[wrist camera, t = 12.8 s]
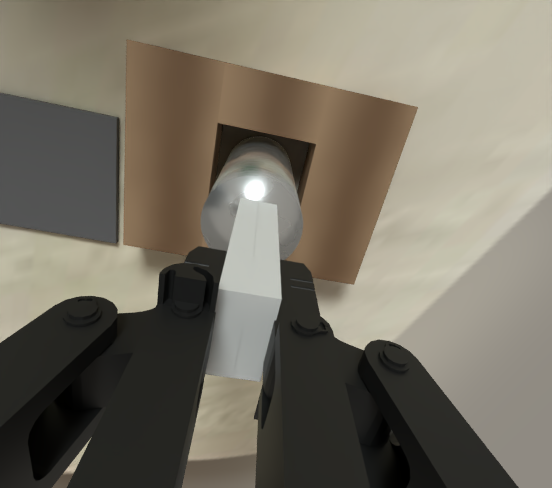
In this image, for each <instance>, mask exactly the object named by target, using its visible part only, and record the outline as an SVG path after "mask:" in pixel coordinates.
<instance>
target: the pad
mask: <svg viewBox="0 0 552 488" xmlns="http://www.w3.org/2000/svg"><path fill="white" fill-rule="evenodd" d="M118 191H119V117H114V116H109V115H104V114H100V113H95V112H90V111H85V110H80V109H76V108H71V107H66V106H61V105H57V104H52V103H47V102H42V101H38V100H33V99H28V98H23V97H18V96H14V95H9V94H4V93H0V223H1V224H6V225H12V226H18V227H24V228H30V229H35V230H41V231H47V232H53V233H58V234H64V235H70V236H76V237H82V238H87V239H93V240H99V241H105V242H110V243H117V242H118Z"/></svg>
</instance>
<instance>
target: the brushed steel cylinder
mask: <svg viewBox="0 0 552 488" xmlns="http://www.w3.org/2000/svg"><path fill="white" fill-rule="evenodd" d="M240 198H244V199H249V200H255V201H260V202H265V203H270V204H275V205H277V215H278V235H279V255H280V259H281V260H285V259H286V258H288V257H289V256H290V255H291V254H292V253H293V251H294V250H295V249H296V247H297V246H298V243H299V241H300V239H301V236H302V231H303V216H302V212H301V207H300V203H299V199H298V194H297V190H296V185H295V181H294V177H293V172H292V168H291V164H290V160H289V157H288V154H287V153H286V151H285V149H284V148H283V147H282V146H281V145H280V144H279V143H278V142H276V141H274V140H273V139H270V138H267V137H263V136H254V137H249V138H246V139H244V140H242V141H241V142H239V143H238V144H237V145H236V146H235V147H234V148H233V150H232V151H231V153H230V155H229V157H228V159H227V161H226V163H225V165H224V167H223V169H222V171H221V172H220V174H219V176H218V178H217V180H216V182H215V184H214V186H213V188H212V190H211V192H210V194H209V196H208V198H207V200H206V202H205V204H204V206H203V209H202V213H201V231H202V234H203V237H204V240H205V242H206V244H207V245H208V247H209V248H212V249H218V250H224V251H228V246H229V242H230V238H231V234H232V230H233V226H234V222H235V218H236V214H237V210H238V206H239V202H240Z"/></svg>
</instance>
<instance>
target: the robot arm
mask: <svg viewBox="0 0 552 488" xmlns="http://www.w3.org/2000/svg"><path fill="white" fill-rule="evenodd" d="M314 290H315V288H314V283H313V279H312V274H311V272H310V270H309V269H308V268H307V267H306V266H305V265H304V263H298V262H292V261H287V260H281V259H280V255H279V235H278V215H277V205H275V204H270V203H265V202H260V201H255V200H249V199H244V198H240V202H239V206H238V210H237V214H236V218H235V222H234V226H233V230H232V234H231V238H230V242H229V246H228V251H224V250H218V249H212V248H207V247H201V246H198V247H196V248H195V249H193V250H192V251H190V252H189V253H188V255H187V257H186V259H185V263H180V264H174V265H171V266H169V267H166V268H164V269H163V270H162V271H161V272H160V273H159V287H158V302H157V306H156V308H154V309H151V310H147V311H143V312H136V313H120V314H117V310H118V309H117V308H116V306H115V305H114V304H113V302H111V301H109V300H107V299H105V298H101V297H95V296H80V297H75V298H71V299H67V300H65V301H63V302H61V303H59V304H57V305H55V306H53V307H52V308H50V309H49V310H47V311H46V312H45V313H43V314H42V315H40V316H39V317H37V318H36V319H34V320H33V321H31V322H30V323H29V324H27V325H26V326H24V327H23V328H21V329H20V330H18V331H17V332H15V333H14V334H13V335H11V336H10V337H8V338H7V339H5V340H4V341H2V342H1V343H0V488H52V487H53V485H54V484H55V483H56V481H57V480H58V479H59V478H60V476H61V475H62V474H63V473H64V471H65V470H66V469H67V468H68V466H69V465H70V464H71V462H72V461H73V460H74V459H75V457H76V456H77V455H78V454H79V452H80V451H81V450H82V448H83V447H84V446H85V445H86V443H87V442H88V441H89V440H90V438H91V437H92V438H91V440H90V442H89V444H88V446H87V448H86V450H85V452H84V454H83V456H82V458H81V460H80V462H79V464H78V466H77V468H76V470H75V472H74V474H73V476H72V479H71V480H70V482H69V485H68V487H67V488H181V487H182V483H183V478H184V473H185V469H186V464H187V460H188V455H189V450H190V446H191V441H192V436H193V432H194V427H195V422H196V418H197V413H198V408H199V404H200V399H201V394H202V389H203V383H204V377H205V374H208V375H215V376H222V377H230V378H237V379H244V380H251V381H259V382H260V381H261V377H262V373H263V385H262V389H261V393H260V397H259V400H258V404H257V408H256V412H255V415H254V419H257V420H258V435H257V461H256V462H257V463H256V485H255V488H518V486H517V485H516V484H515V483H514V481H513V480H512V479H511V477H510V476H509V475H508V474H507V472H506V471H505V470H504V469H503V467H502V466H501V465H500V463H499V462H498V461H497V460H496V458H495V457H494V456H493V455H492V453H491V452H490V451H489V449H487V447H486V446H485V444H484V443H483V442H482V441H481V439H480V438H479V437H478V436H477V434H476V433H475V432H474V431H473V429H472V428H471V427H470V425H469V424H468V423H467V422H466V420H465V419H464V418H463V417H462V415H461V414H460V413H459V411H458V410H457V409H456V408H455V406H454V405H453V404H452V402H451V401H450V400H449V399H448V397H447V396H446V395H445V394H444V392H443V391H442V390H441V389H440V387H439V386H438V385H437V384H436V382H435V381H434V380H433V379H432V377H431V376H430V375H429V373H428V372H427V371H426V369H425V368H424V367H423V366H422V364H421V363H420V362H419V361H418V359H417V358H416V357H415V356H413V354H412V353H411V352H410V351H408V350H407V349H405V348H403V347H402V346H400V345H398V344H396V343H393V342H390V341H385V340H375V341H371V342H370V343H369V344H368V345H367V346H366V347H365V350H361V349H359V348H356V347H354V346H351V345H349V344H346V343H344V342H342V341H340V340H338V339H337V338H335V337H334V334H333V331H332V329H331V327H330V325H329V323H328V322H327V321H325V320H324V319H323V318H322V317H320V312H319V308H318V303H317V298H316V293H315V291H314Z"/></svg>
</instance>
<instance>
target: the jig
mask: <svg viewBox="0 0 552 488" xmlns="http://www.w3.org/2000/svg"><path fill="white" fill-rule="evenodd" d="M417 109H418V107H415V106H410V105H406V104H402V103H398V102H393V101H389V100H385V99H380V98H376V97H372V96H368V95H363V94H359V93H355V92H350V91H346V90H342V89H337V88H333V87H329V86H325V85H320V84H316V83H312V82H307V81H303V80H299V79H295V78H290V77H286V76H282V75H277V74H273V73H269V72H264V71H260V70H256V69H252V68H247V67H243V66H239V65H234V64H230V63H226V62H222V61H217V60H213V59H209V58H204V57H200V56H196V55H191V54H187V53H183V52H179V51H174V50H170V49H166V48H161V47H157V46H153V45H149V44H144V43H140V42H136V41H131V40H127V55H126V117H125V178H124V239H123V245H128V246H134V247H140V248H145V249H151V250H157V251H163V252H169V253H174V254H180V255H186V256H187V255H188V253H189V252H190V251H192V250H193V249H195V248H196V247H198V246H201V247H207V248H209V247H208V245H207V244H206V242H205V240H204V237H203V234H202V231H201V213H202V209H203V206H204V204H205V202H206V200H207V198H208V196H209V194H210V192H211V190H212V188H213V186H214V184H215V181H216V173H217V166H218V158H219V151H220V143H221V136H222V129H223V124H226V125H230V126H235V127H240V128H244V129H249V130H254V131H258V132H263V133H268V134H272V135H277V136H282V137H286V138H291V139H296V140H300V141H305V142H309V146H308V150H307V154H306V158H305V162H304V166H303V170H302V174H301V179H300V183H299V187H298V191H297V194H298V199H299V203H300V207H301V212H302V216H303V231H302V236H301V239H300V241H299V243H298V246H297V247H296V249H295V250H294V251H293V253H292V254H291V255H290V256H289V257H288V258H286V259H285V260H287V261H292V262H298V263H304V265H305V266H306V267H307V268H308V269H309V270H310V272H311V274H312V277H313V278H319V279H325V280H330V281H336V282H342V283H348V284H354V283H355V280H356V277H357V274H358V272H359V269H360V266H361V263H362V261H363V258H364V255H365V252H366V250H367V247H368V244H369V241H370V239H371V236H372V233H373V230H374V228H375V225H376V222H377V219H378V216H379V214H380V211H381V208H382V205H383V203H384V200H385V197H386V194H387V192H388V189H389V186H390V183H391V181H392V178H393V175H394V172H395V170H396V167H397V164H398V161H399V159H400V156H401V153H402V150H403V148H404V145H405V142H406V139H407V137H408V134H409V131H410V128H411V126H412V123H413V120H414V117H415V114H416V112H417Z"/></svg>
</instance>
